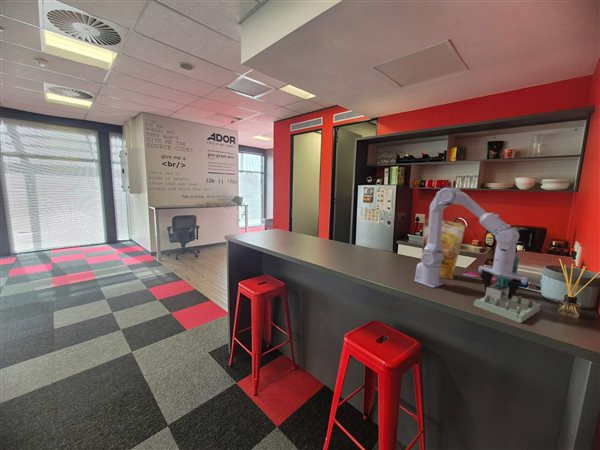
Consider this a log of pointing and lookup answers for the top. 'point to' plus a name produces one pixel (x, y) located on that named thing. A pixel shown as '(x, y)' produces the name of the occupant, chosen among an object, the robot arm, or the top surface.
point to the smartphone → (477, 276)
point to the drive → (497, 293)
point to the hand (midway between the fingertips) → (498, 294)
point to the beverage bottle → (515, 265)
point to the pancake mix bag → (447, 245)
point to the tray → (510, 308)
